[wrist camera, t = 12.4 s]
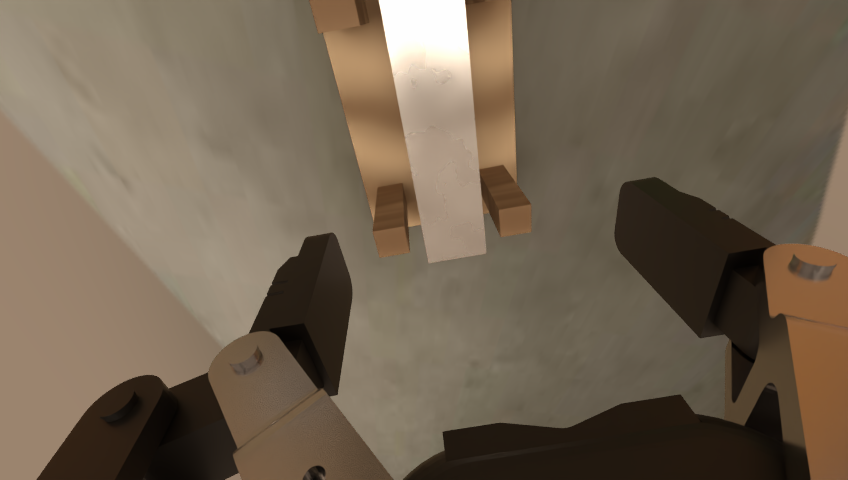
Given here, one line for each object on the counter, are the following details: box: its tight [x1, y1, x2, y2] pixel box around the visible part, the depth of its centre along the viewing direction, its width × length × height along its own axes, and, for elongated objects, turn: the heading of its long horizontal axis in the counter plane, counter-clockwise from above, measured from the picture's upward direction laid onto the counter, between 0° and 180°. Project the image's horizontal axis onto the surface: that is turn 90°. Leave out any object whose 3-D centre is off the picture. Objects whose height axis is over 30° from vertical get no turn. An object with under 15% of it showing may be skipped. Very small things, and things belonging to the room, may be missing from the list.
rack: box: [309, 0, 531, 258], centre depth 24 cm, size 19×12×8 cm, turn 9°
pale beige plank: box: [379, 0, 486, 263], centre depth 23 cm, size 18×4×6 cm, turn 9°
